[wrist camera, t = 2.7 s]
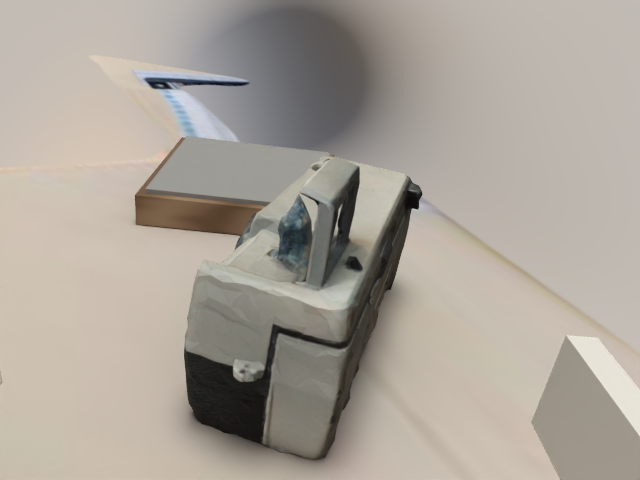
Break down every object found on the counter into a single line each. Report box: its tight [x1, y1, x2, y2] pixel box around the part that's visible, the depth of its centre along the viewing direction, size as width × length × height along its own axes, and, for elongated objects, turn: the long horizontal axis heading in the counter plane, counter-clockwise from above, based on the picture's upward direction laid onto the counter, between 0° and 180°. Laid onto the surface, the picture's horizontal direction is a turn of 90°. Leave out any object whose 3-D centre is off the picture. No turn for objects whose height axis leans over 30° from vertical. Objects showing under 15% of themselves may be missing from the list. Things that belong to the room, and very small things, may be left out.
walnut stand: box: [135, 136, 335, 235], centre depth 39 cm, size 13×13×2 cm
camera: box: [184, 155, 422, 459], centre depth 23 cm, size 15×8×10 cm, turn 160°
